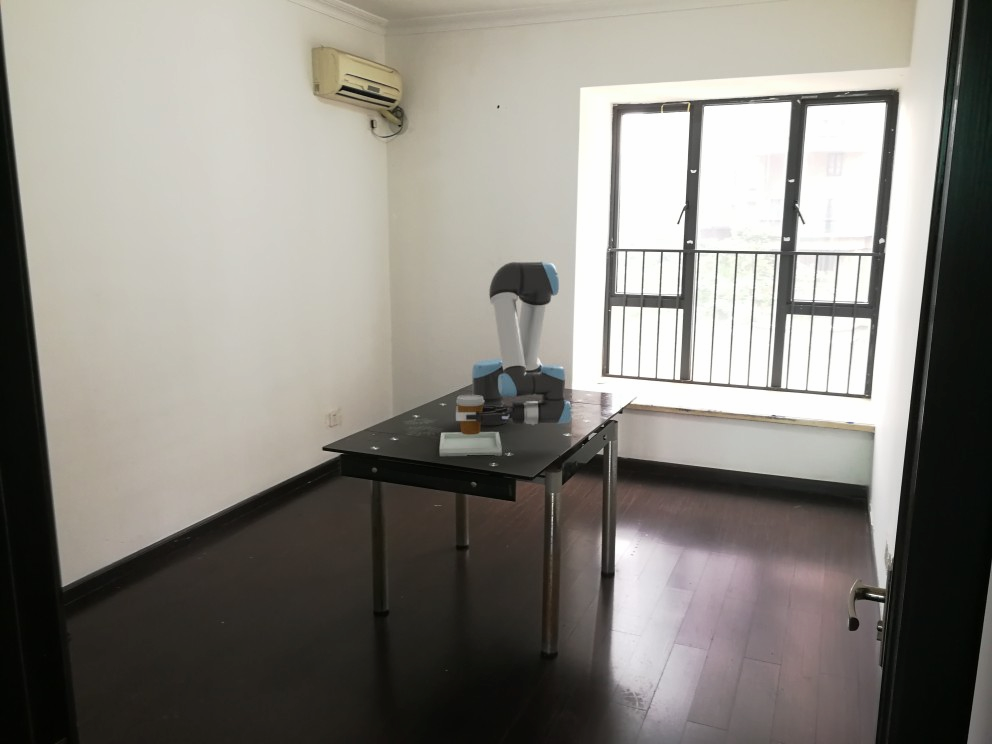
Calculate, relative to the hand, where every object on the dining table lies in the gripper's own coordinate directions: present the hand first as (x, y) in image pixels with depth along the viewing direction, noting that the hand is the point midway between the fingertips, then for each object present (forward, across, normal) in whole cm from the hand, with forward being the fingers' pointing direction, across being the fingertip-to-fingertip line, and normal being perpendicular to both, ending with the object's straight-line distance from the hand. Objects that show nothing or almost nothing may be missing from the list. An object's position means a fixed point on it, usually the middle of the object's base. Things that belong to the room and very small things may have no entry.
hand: (456, 413), depth 249 cm
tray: (-5, 0, -12) cm, 13 cm away
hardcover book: (-26, +63, -12) cm, 69 cm away
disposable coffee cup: (-5, 0, -7) cm, 8 cm away
